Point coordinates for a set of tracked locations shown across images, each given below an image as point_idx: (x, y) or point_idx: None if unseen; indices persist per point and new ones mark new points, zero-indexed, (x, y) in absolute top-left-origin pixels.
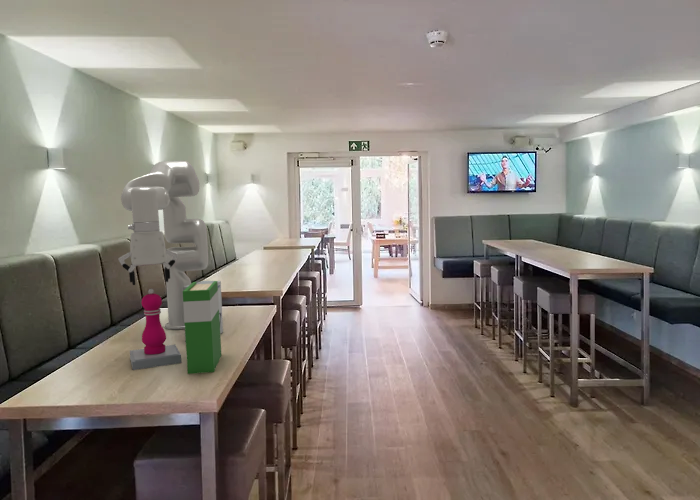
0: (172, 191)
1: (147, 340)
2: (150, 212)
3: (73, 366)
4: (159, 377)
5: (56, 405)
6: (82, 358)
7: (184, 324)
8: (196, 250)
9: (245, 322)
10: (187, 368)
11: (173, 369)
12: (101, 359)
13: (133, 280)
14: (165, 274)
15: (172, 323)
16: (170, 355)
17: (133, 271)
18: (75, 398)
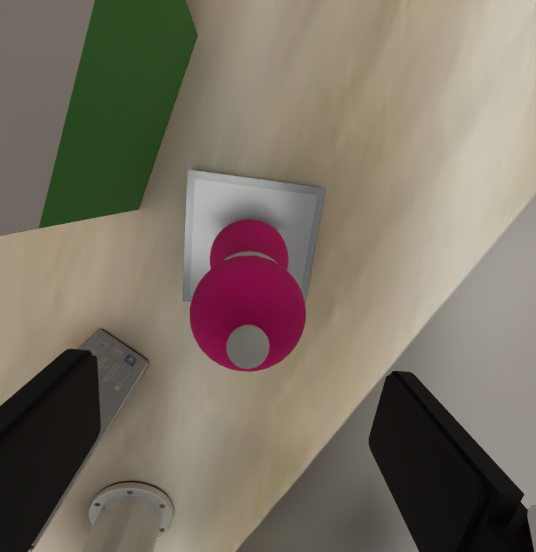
0: None
1: (277, 231)
2: None
3: (420, 313)
4: (276, 59)
5: None
6: (387, 365)
7: (126, 398)
8: None
9: None
10: (193, 26)
11: (225, 117)
12: (356, 333)
13: (428, 398)
14: (39, 412)
15: (152, 511)
16: (217, 182)
17: (492, 531)
18: (498, 17)
